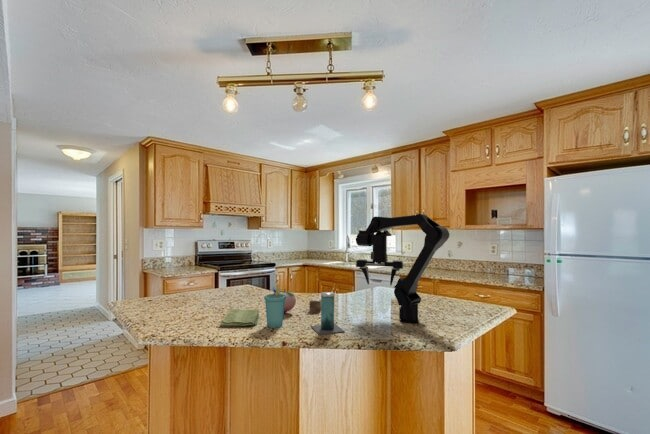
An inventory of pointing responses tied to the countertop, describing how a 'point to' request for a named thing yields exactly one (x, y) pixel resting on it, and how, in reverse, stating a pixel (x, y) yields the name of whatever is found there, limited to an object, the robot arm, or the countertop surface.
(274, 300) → the cup
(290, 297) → the decorative fruit
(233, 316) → the washcloth
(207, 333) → the countertop surface
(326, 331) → the mat
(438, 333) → the countertop surface
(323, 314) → the tin
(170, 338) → the countertop surface
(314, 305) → the letter block
